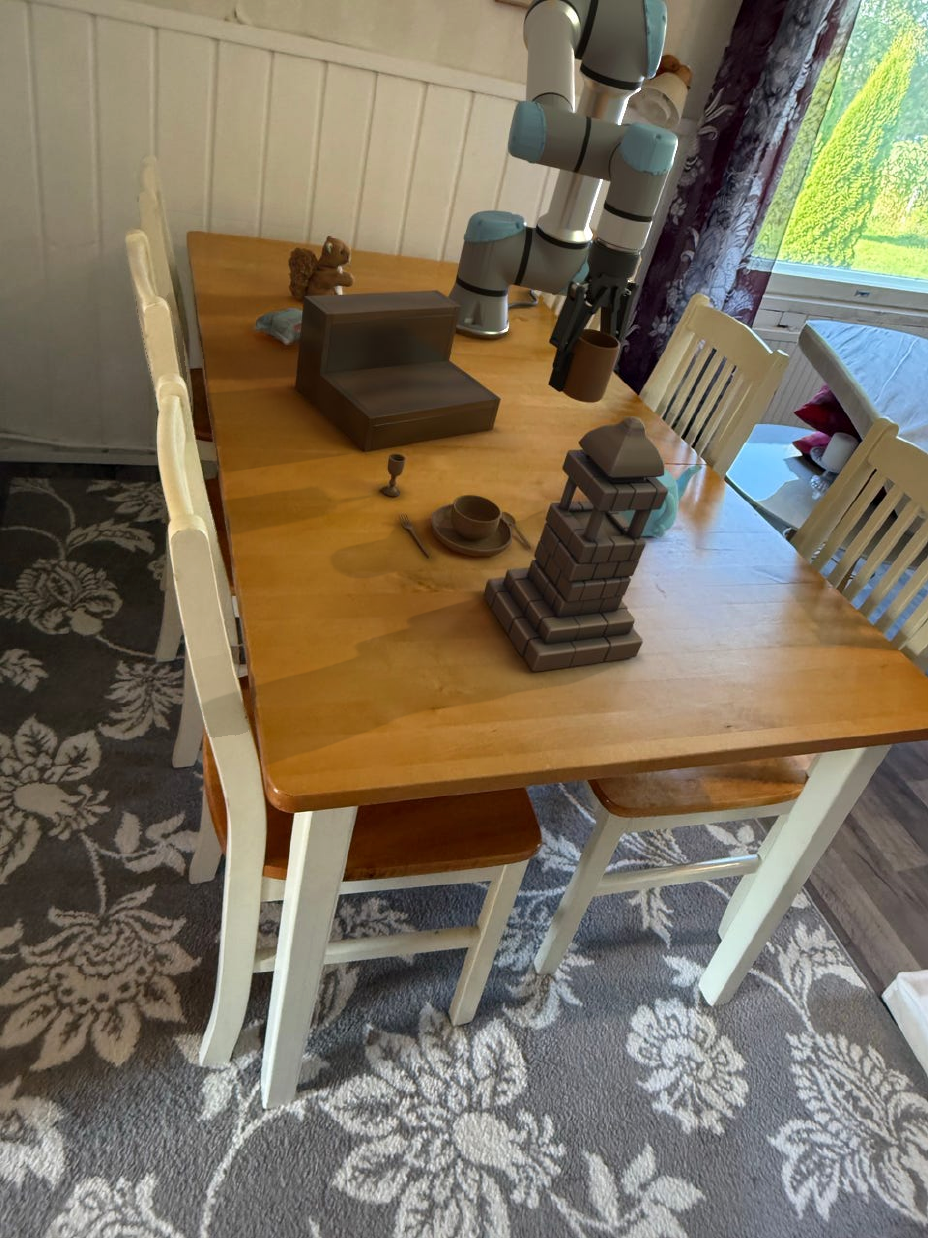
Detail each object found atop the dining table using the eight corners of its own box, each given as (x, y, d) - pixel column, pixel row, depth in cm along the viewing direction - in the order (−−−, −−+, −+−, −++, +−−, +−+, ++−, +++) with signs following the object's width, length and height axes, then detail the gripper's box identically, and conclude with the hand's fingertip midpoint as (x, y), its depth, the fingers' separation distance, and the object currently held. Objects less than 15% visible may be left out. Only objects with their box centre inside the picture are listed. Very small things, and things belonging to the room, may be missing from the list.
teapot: (579, 525, 133) (601, 464, 125) (609, 487, 143) (631, 428, 136) (654, 560, 130) (681, 500, 123) (678, 518, 140) (705, 460, 133)
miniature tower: (531, 674, 103) (610, 455, 84) (481, 596, 112) (543, 385, 94) (639, 658, 110) (735, 453, 91) (584, 586, 119) (660, 388, 101)
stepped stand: (492, 429, 151) (515, 342, 141) (364, 451, 135) (379, 356, 125) (421, 373, 162) (437, 289, 152) (294, 388, 146) (303, 295, 136)
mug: (539, 368, 144) (554, 314, 138) (577, 370, 147) (594, 317, 141) (571, 404, 136) (589, 348, 130) (610, 404, 139) (630, 350, 133)
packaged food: (329, 341, 164) (331, 316, 161) (285, 354, 156) (287, 328, 153) (295, 325, 167) (297, 300, 164) (251, 336, 159) (252, 310, 156)
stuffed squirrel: (348, 317, 176) (356, 252, 167) (279, 302, 174) (284, 235, 166) (353, 301, 183) (362, 237, 175) (288, 286, 182) (293, 221, 174)
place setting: (432, 568, 115) (440, 532, 111) (375, 487, 127) (381, 453, 124) (539, 554, 123) (550, 520, 120) (476, 479, 136) (484, 447, 132)
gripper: (644, 233, 135) (599, 368, 149) (552, 234, 123) (513, 381, 137) (679, 251, 131) (629, 388, 145) (588, 254, 119) (543, 403, 133)
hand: (572, 384), depth 141 cm, fingers closed on mug, 7 cm apart
